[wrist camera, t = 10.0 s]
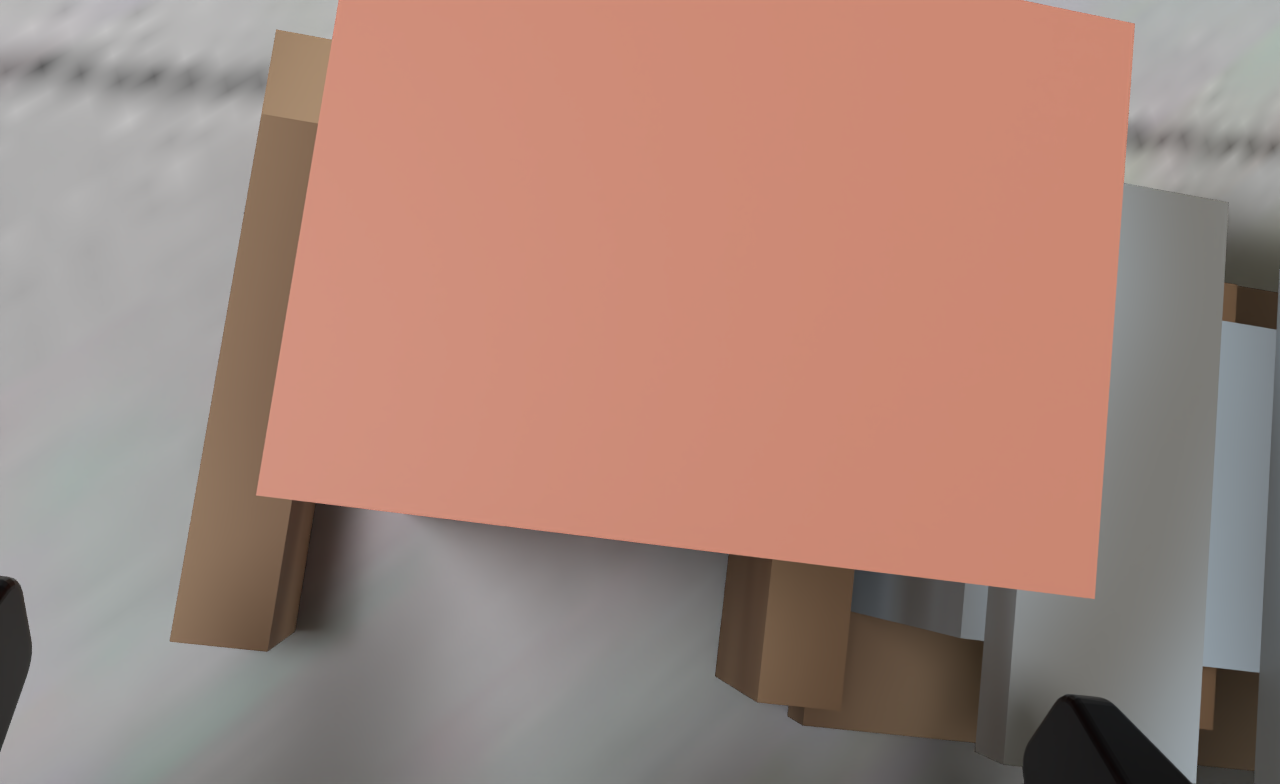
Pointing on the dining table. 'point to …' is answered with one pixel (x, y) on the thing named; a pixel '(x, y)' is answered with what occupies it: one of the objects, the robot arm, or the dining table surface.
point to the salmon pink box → (717, 278)
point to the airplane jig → (872, 601)
